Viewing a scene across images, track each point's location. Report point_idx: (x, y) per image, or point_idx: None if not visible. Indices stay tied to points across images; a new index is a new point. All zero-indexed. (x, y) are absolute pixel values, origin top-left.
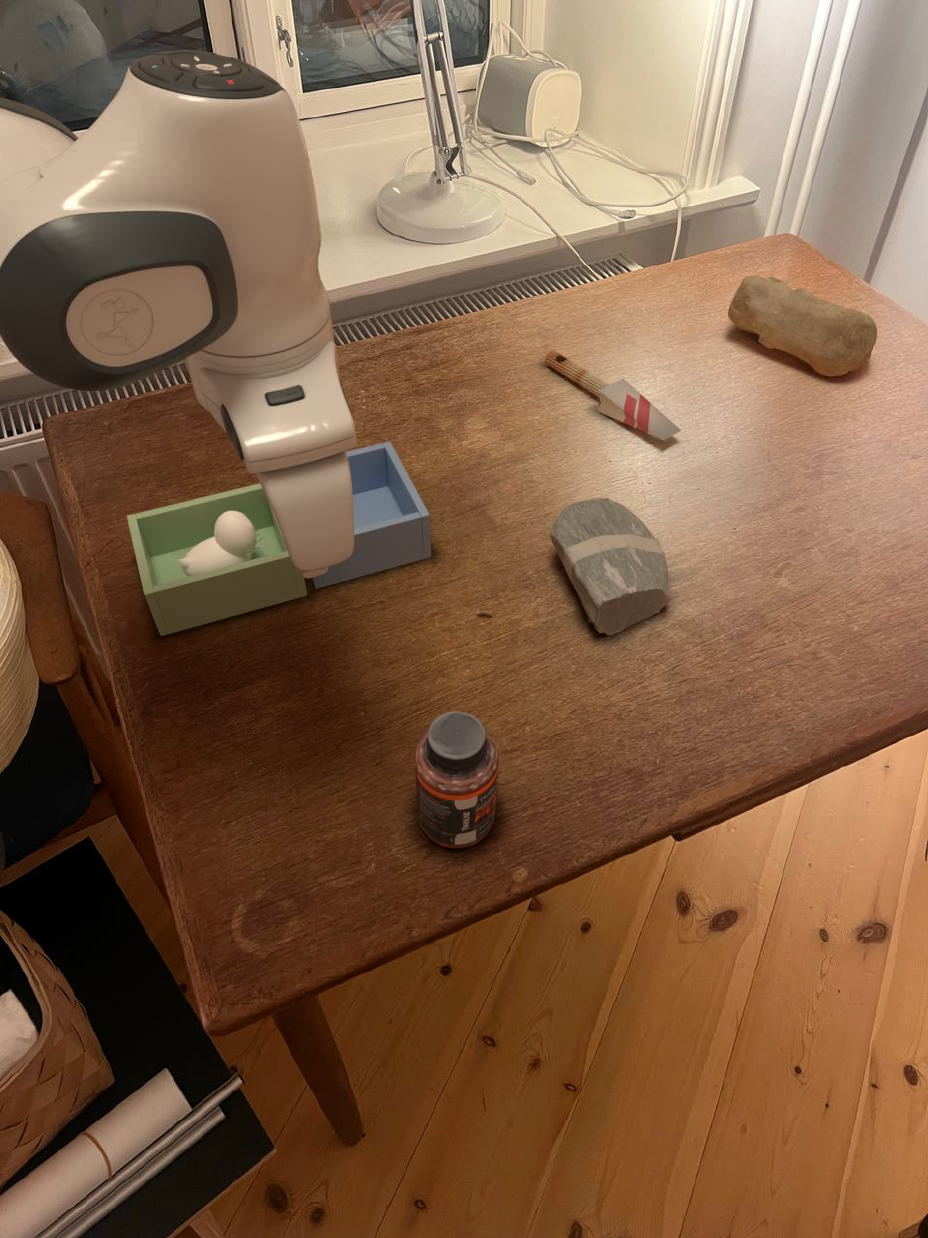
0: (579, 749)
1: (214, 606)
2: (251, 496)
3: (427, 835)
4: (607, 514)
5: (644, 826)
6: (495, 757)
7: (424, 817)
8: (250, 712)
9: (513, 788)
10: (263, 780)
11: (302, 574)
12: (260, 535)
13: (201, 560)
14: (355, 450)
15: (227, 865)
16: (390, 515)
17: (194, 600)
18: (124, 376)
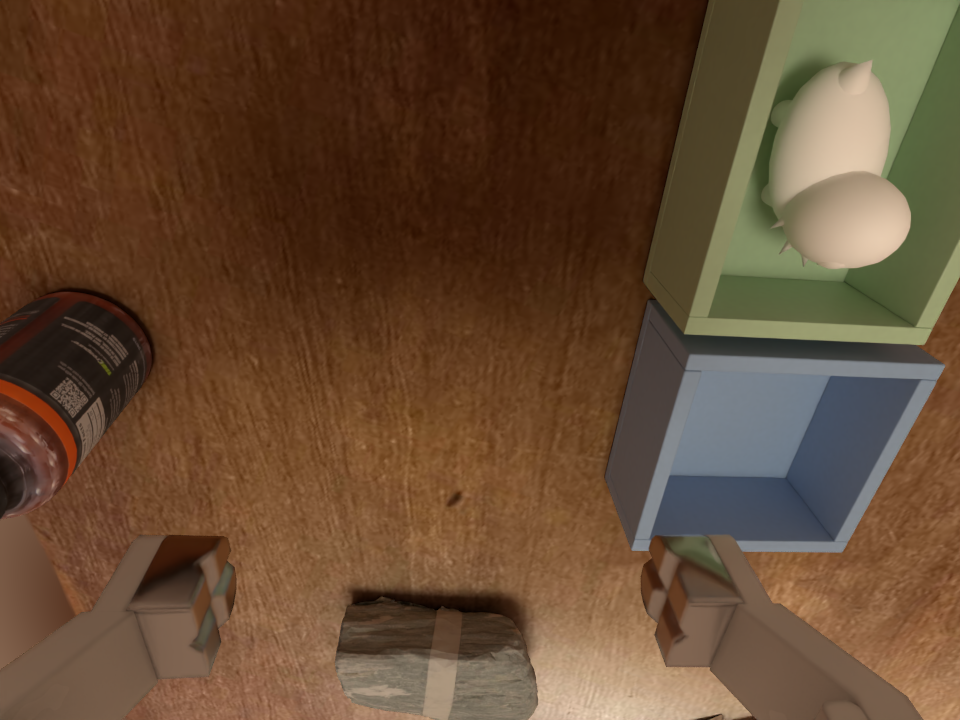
0: (178, 516)
1: (704, 101)
2: (918, 289)
3: (46, 295)
4: (490, 718)
5: (39, 534)
6: None
7: (15, 318)
8: (420, 84)
9: (130, 427)
10: (243, 54)
11: (130, 546)
12: None
13: (831, 118)
14: (867, 501)
15: None
16: (721, 460)
17: (730, 60)
18: None
